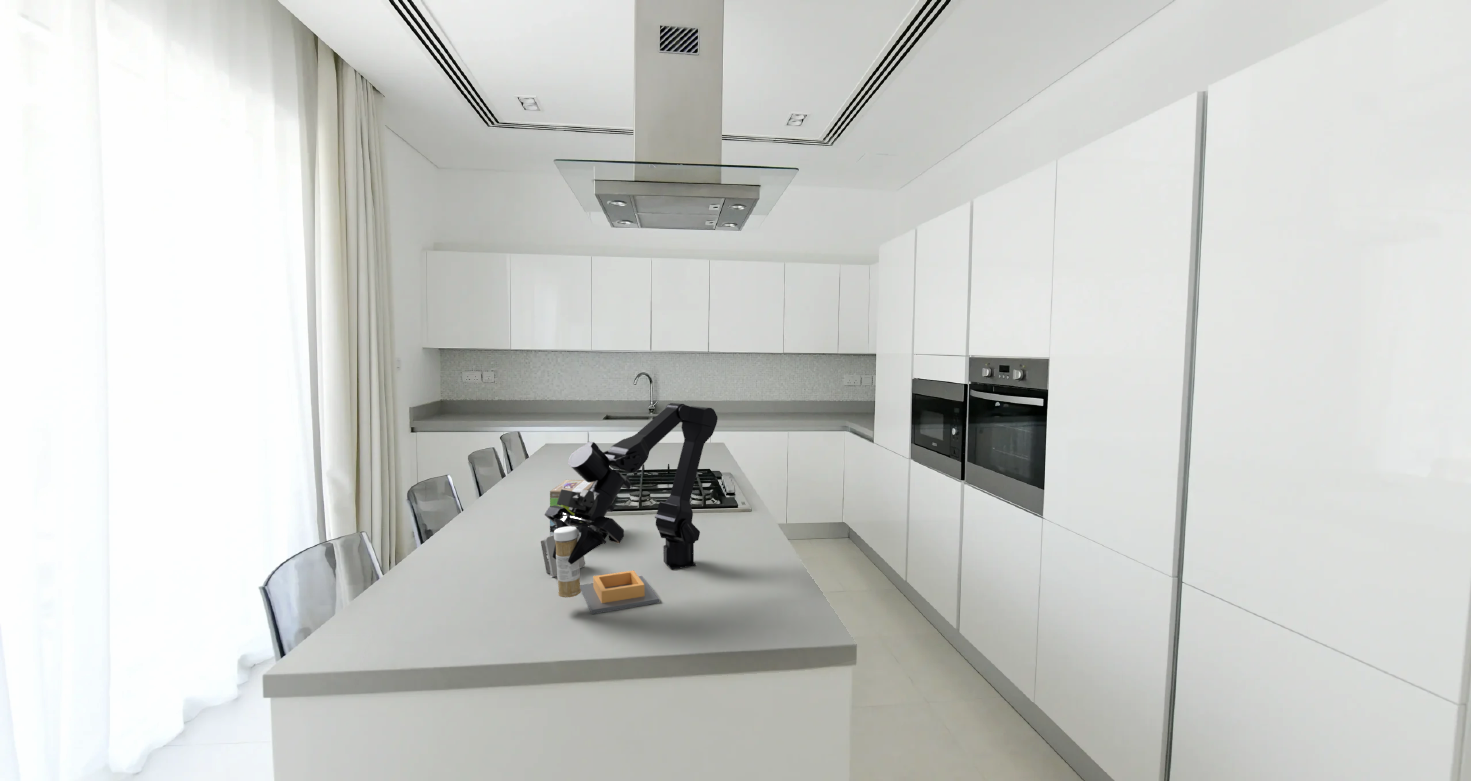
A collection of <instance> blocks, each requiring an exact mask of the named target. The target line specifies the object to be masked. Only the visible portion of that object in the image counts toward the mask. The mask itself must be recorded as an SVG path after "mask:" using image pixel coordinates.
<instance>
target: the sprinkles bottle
mask: <svg viewBox="0 0 1471 781" xmlns="http://www.w3.org/2000/svg"><path fill="white" fill-rule="evenodd" d="M577 537H578V533H577V528H576V527H572V526H568V527H561V528H558V529H556V530H555V531H554V539H555V542H556V564H557V576H556V578H557V584H558V585H557V586H558V591H557V594H558V596H559V597H561V598H573V597H577V596H579V595H580V594H582V592H581V589H580V585H581V580H580V578H581V574H580V571H581V570H580V569H581V568H579V560H577V561H576V562H574V563H573V564H570V563H569V562H568V560H569V557H570V555H571V553H572V551H573V549H574V547H575V546H576V544H577Z"/></svg>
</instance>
